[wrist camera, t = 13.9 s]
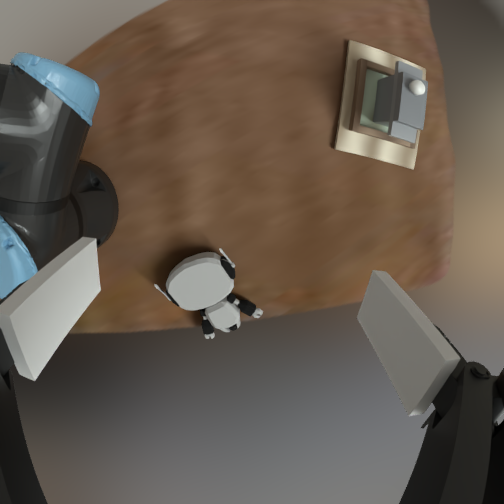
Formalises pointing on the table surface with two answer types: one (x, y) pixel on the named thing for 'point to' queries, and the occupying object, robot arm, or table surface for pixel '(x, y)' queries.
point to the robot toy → (208, 291)
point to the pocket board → (369, 108)
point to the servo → (401, 102)
